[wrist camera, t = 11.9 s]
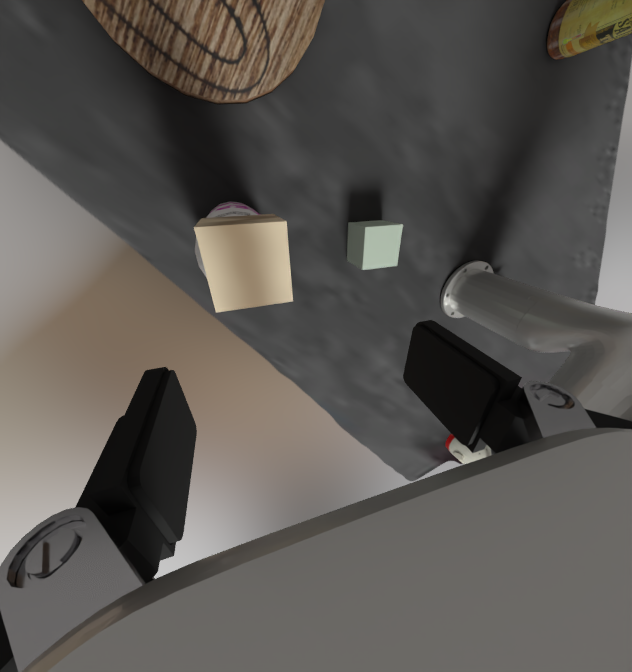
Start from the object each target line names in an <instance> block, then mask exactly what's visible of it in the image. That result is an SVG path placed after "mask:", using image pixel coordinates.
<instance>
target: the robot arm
mask: <svg viewBox="0 0 632 672" xmlns="http://www.w3.org/2000/svg"><path fill="white" fill-rule="evenodd" d="M440 301H441V307H442V310H443V311H444V313H445V314H447V315H448V316H450V317H453V318H461V317H464V316H466V317H468V318H470V319H471V320H473V321H475V322H477V323H479V324H481V325H483V326H485V327H486V328H488V329H490V330H492V331H494V332H496V333H498V334H499V335H501V336H503V337H505V338H507V339H509V340H511V341H513V342H514V343H516V344H518V345H520V346H522V347H524V348H526V349H528V350H531V351H535V352H541V353H553V352H563V351H571V353H570V355H569V357H568V358H567V359H566V361H565V363H564V364H563V365H562V366H561V368H560V369H559V370H558V371H557V372H556V374H555V375H554V376H553V377H552V378H551V380H550V381H549V382H548V383H546V382H541V381H529V382H527V383H525V385H524V386H523V388H520V387H519V386H518V384H519V382H520V380H521V378H522V377H520V376H519V375H517V374H515V373H514V372H512V371H511V370H509V369H508V368H506V367H505V366H503V365H501V364H500V363H498V362H497V361H495V360H494V359H492V358H491V357H489V356H487V355H486V354H484V353H483V352H481V351H480V350H478V349H477V348H475V347H473V346H472V345H470V344H469V343H467V342H466V341H464V340H463V339H461V338H459V337H458V336H456V335H455V334H453V333H452V332H450V331H449V330H447V329H445V328H444V327H442V326H441V325H439V324H438V323H436V322H435V321H432V320H429V321H423V322H419V323H417V324H416V326H415V327H414V328H413V331H412V336H411V341H410V346H409V350H408V355H407V360H406V365H405V370H404V375H403V378H404V381H405V383H406V384H407V385H408V386H409V387H410V389H411V390H412V391H413V392H414V393H415V394H416V395H417V396H418V397H419V398H420V400H421V401H422V402H423V403H424V404H425V405H426V406H427V407H428V408H429V409H430V411H431V412H432V413H433V414H434V415H435V416H436V417H437V418H438V419H439V420H440V421H441V423H442V424H443V425H444V426H445V427H446V428H447V429H448V430H449V431H450V432H451V434H452V435H453V436H454V437H455V438H456V439H457V440H458V441H459V442H460V443H461V444H462V445H465V446H466V447H467V448H468V449H469V450H470V451H471V452H472V453H475V452H478V451H481V450H484V449H485V447H486V445H488V446H489V447H490V448H491V456H488V457H485V458H482V459H479V460H476V461H473V462H470V463H468V464H465V465H462V466H459V467H456V468H453V469H450V470H447V471H445V472H442V473H439V474H436V475H433V476H430V477H428V478H425V479H422V480H419V481H416V482H414V483H410V484H408V485H405V486H402V487H399V488H396V489H394V490H391V491H388V492H385V493H382V494H380V495H377V496H374V497H371V498H368V499H365V500H363V501H360V502H357V503H354V504H351V505H348V506H346V507H343V508H340V509H337V510H335V511H332V512H329V513H326V514H323V515H321V516H318V517H315V518H312V519H310V520H307V521H304V522H301V523H298V524H296V525H293V526H290V527H287V528H284V529H282V530H279V531H276V532H273V533H270V534H268V535H265V536H263V537H260V538H257V539H255V540H252V541H249V542H246V543H244V544H241V545H238V546H236V547H233V548H231V549H228V550H226V551H223V552H220V553H217V554H215V555H212V556H209V557H207V558H204V559H202V560H199V561H196V562H194V563H192V564H189V565H187V566H185V567H182V568H180V569H178V570H175V571H173V572H170V573H168V574H166V575H164V576H162V577H159V578H157V579H155V578H154V576H155V574H156V573H157V572H158V567H159V562H160V560H163V559H166V558H169V557H172V556H174V551H175V545H176V542H177V541H180V540H181V539H182V536H183V532H184V525H185V516H186V510H187V501H188V495H189V487H190V479H191V472H192V464H193V457H194V449H195V441H196V432H197V430H196V424H195V421H194V419H193V416H192V414H191V411H190V409H189V406H188V404H187V401H186V398H185V396H184V393H183V391H182V388H181V386H180V383H179V381H178V379H177V376H176V373H175V371H174V370H170V371H169V370H168V369H167V368H166V367H162V368H157V369H151V370H146V371H145V372H144V374H143V376H142V379H141V381H140V383H139V385H138V387H137V389H136V391H135V394H134V396H133V398H132V400H131V403H130V405H129V407H128V409H127V411H126V413H125V415H124V416H122V417H121V418H119V419H118V421H117V422H116V424H115V426H114V429H113V431H112V433H111V435H110V437H109V439H108V441H107V443H106V445H105V447H104V449H103V451H102V453H101V456H100V458H99V460H98V462H97V464H96V466H95V468H94V470H93V472H92V474H91V476H90V479H89V481H88V482H87V485H86V487H85V489H84V491H83V493H82V495H81V497H80V499H79V501H78V503H77V505H76V507H75V508H71V509H66V510H64V511H62V512H59V513H57V514H55V515H53V516H51V517H49V518H48V519H46V520H44V521H43V522H41V523H40V524H38V525H37V526H36V527H35V528H33V529H32V530H31V531H30V532H29V533H27V534H26V535H25V536H24V537H23V538H22V539H21V540H20V541H19V542H18V543H17V544H16V545H15V547H13V549H12V550H11V551H10V552H9V554H8V555H7V557H6V558H5V560H4V561H3V563H2V564H1V566H0V672H632V313H627V312H622V311H617V310H613V309H609V308H604V307H600V306H596V305H593V304H589V303H586V302H582V301H579V300H575V299H572V298H569V297H566V296H562V295H559V294H556V293H553V292H549V291H546V290H543V289H540V288H537V287H534V286H531V285H527V284H524V283H521V282H518V281H515V280H512V279H509V278H505V277H502V276H499V275H496V274H494V273H493V269H492V267H491V266H490V265H489V264H488V263H486V262H483V261H478V260H476V261H471V262H468V263H466V264H464V265H462V266H461V267H459V268H458V269H457V270H456V271H455V272H454V273H453V274H452V275H451V276H450V278H449V279H448V280H447V282H446V284H445V286H444V288H443V290H442V294H441V300H440Z"/></svg>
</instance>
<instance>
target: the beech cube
mask: <svg viewBox="0 0 632 672" xmlns="http://www.w3.org/2000/svg"><path fill="white" fill-rule="evenodd" d="M194 230H195V233H196V237H197V241H198V245H199V249H200V253H201V256H202V260H203V264H204V268H205V272H206V276H207V280H208V283H209V287H210V291H211V295H212V299H213V303H214V306H215V310H216V312H223V311H230V310H236V309H243V308H250V307H257V306H264V305H271V304H278V303H284V302H291V301H293V296H292V284H291V271H290V259H289V247H288V234H287V222H286V221H285V220H283V219H281V218H279V217H278V216H276V215H274V214H265V215H247V216H230V217H213V218H201V219H200V221H199V222H198V223H197V224H196V225H195V227H194Z"/></svg>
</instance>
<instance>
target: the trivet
mask: <svg viewBox="0 0 632 672" xmlns="http://www.w3.org/2000/svg"><path fill="white" fill-rule="evenodd" d="M82 1H83V2H84V4H85V5H86V6H87V7H88V9H89V10H90V11H91V12H92V14H93V15H94V16H95V18H96V19H97V20H98V21H99V23H100V24H101V25H102V26H103V28H104V29H105V30H106V31H107V33H108V34H109V35H110V37H111V38H112V39H113V40H114V42H115V43H116V44H117V45H119V46H120V47H121V48H122V49H123V50H124V51H125V52H126V53H127V54H129V55H130V56H131V57H132V58H133V59H134V60H135V61H136V62H137V63H138V64H140V65H141V66H142V67H143V68H144V69H145V70H146V71H147V72H148V73H150V74H151V75H152V76H154V77H155V78H157V79H159V80H161V81H162V82H164V83H166V84H167V85H169V86H171V87H172V88H174V89H176V90H177V91H179V92H181V93H183V94H184V95H186V96H190V97H193V98H197V99H200V100H204V101H207V102H211V103H214V104H239V103H248V102H250V101H253V100H255V99H257V98H260V97H262V96H264V95H267V94H269V93H271V92H272V91H274V90H275V89H276V88H277V87H278V86H279V85H280V84H281V83H282V82H283V81H284V80H285V79H286V78H288V77H289V76H290V75H291V74H292V73H293V71H294V69H295V68H296V66H297V64H298V63H299V61H300V59H301V57H302V56H303V54H304V52H305V51H306V49H307V47H308V45H309V44H310V42H311V40H312V39H313V36H314V33H315V30H316V27H317V23H318V20H319V17H320V14H321V10H322V7H323V4H324V1H325V0H82Z"/></svg>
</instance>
